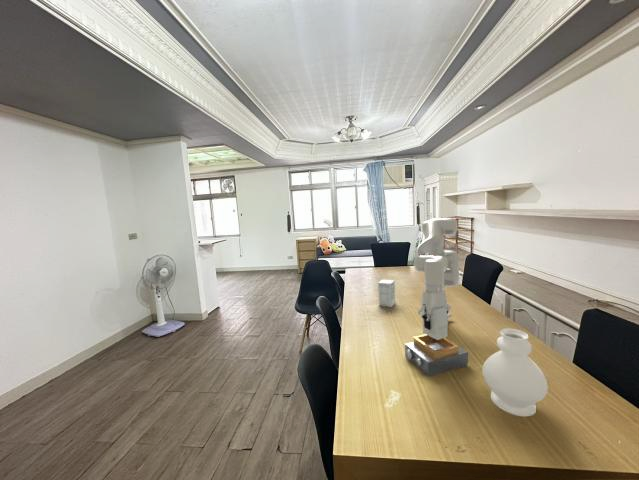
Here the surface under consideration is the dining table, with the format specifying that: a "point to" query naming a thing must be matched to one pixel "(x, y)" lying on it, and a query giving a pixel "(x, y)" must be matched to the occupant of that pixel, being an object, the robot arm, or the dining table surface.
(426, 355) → the frame
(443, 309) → the small box
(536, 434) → the dining table surface
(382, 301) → the supplement box
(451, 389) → the dining table surface
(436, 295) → the robot arm
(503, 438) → the dining table surface
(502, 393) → the decorative vase
